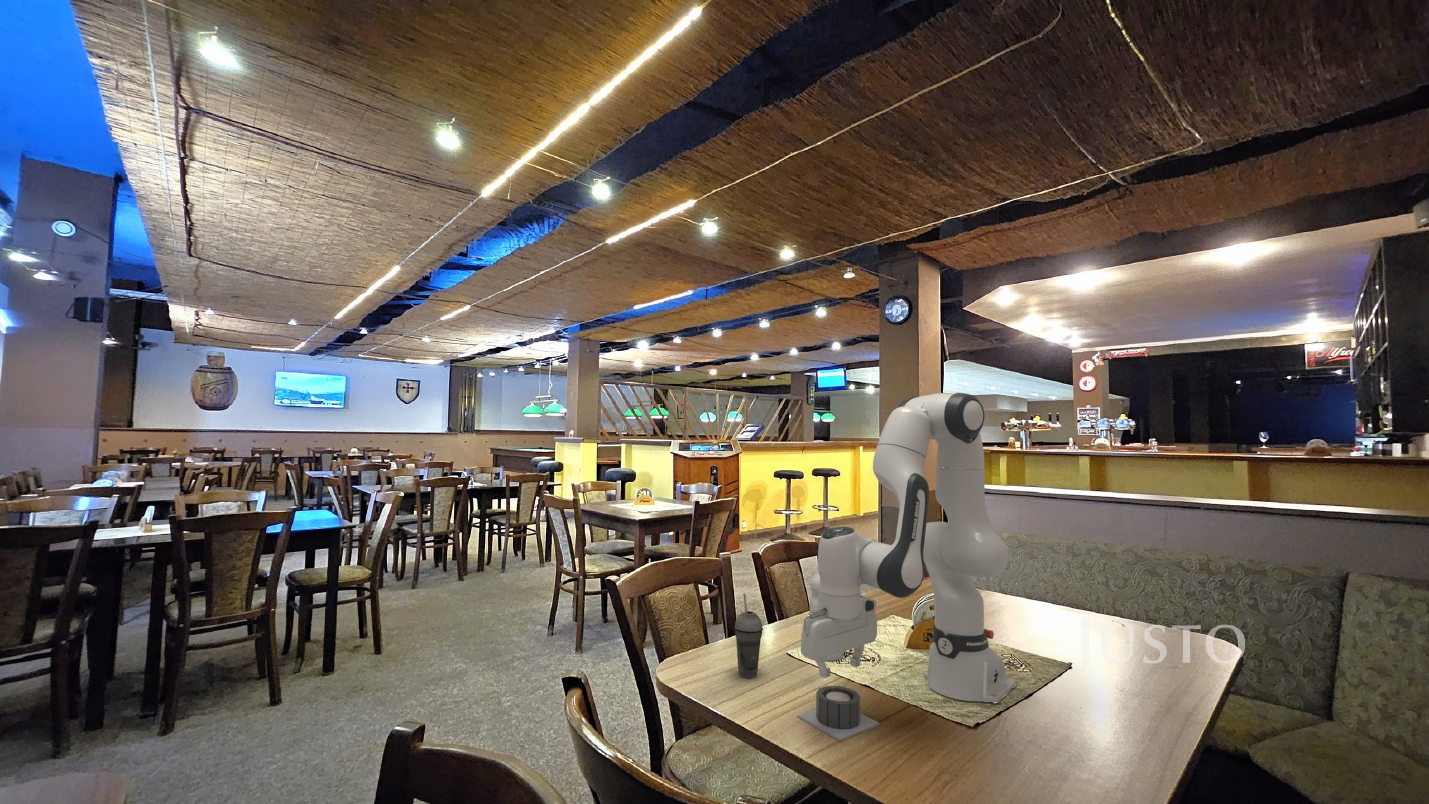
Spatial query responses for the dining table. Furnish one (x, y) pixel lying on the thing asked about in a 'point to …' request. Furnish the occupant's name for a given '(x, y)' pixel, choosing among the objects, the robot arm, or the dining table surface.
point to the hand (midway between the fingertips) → (840, 671)
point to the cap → (838, 696)
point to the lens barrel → (838, 714)
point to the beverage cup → (748, 642)
